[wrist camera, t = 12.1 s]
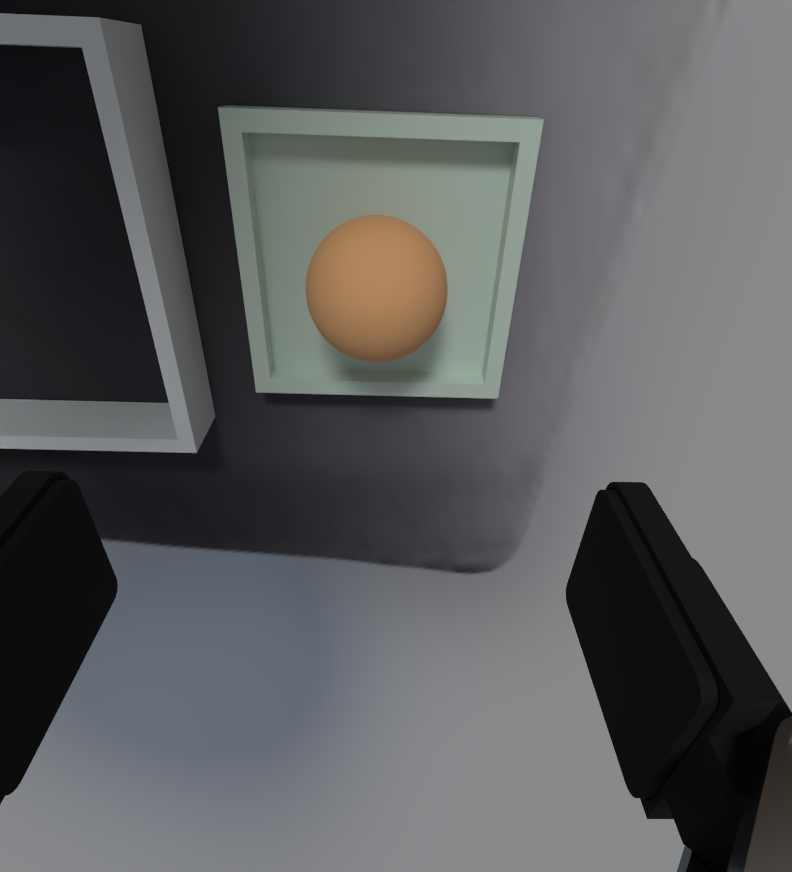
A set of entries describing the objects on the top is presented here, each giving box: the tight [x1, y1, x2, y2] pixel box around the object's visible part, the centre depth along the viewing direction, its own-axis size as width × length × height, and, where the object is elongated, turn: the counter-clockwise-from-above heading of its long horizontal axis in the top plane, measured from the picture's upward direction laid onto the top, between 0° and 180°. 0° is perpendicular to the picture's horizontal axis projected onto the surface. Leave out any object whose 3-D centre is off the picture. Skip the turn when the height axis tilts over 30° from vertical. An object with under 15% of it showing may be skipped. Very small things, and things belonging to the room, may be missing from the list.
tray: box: [218, 105, 544, 399], centre depth 25 cm, size 13×13×2 cm
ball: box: [306, 215, 448, 362], centre depth 23 cm, size 6×6×6 cm
